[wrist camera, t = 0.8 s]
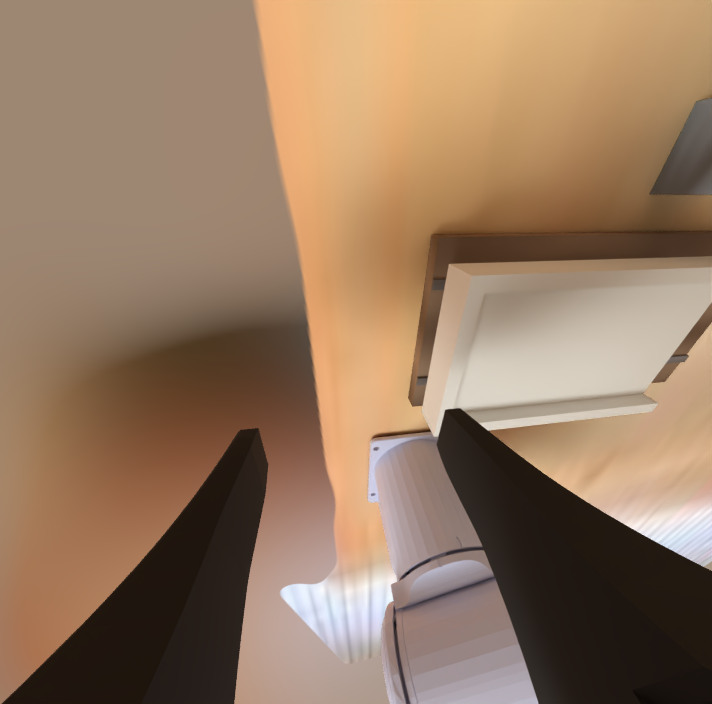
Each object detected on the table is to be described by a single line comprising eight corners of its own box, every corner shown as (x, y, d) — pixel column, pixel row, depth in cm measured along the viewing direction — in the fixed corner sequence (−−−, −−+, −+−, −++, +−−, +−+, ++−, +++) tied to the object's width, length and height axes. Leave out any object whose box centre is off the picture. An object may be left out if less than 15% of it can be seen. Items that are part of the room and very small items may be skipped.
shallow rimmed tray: (605, 382, 21) (651, 411, 18) (415, 400, 19) (433, 436, 16) (687, 252, 16) (770, 265, 13) (438, 258, 14) (471, 275, 11)
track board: (652, 374, 24) (667, 383, 23) (408, 397, 21) (413, 408, 20) (759, 230, 17) (787, 232, 16) (431, 234, 15) (440, 237, 14)
